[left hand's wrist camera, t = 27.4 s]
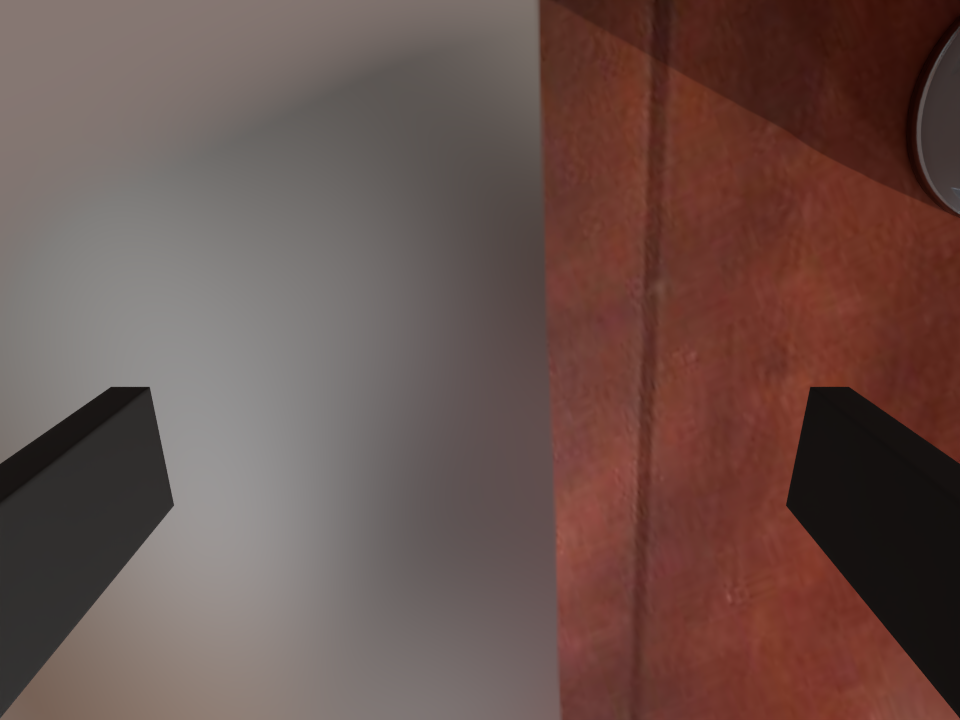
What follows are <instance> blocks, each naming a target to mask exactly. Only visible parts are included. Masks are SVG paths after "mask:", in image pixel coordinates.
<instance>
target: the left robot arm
mask: <svg viewBox="0 0 960 720" xmlns="http://www.w3.org/2000/svg"><path fill="white" fill-rule="evenodd" d="M907 146H908V153H909V158H910V162H911V165H912V169H913V172H914V174H915V176H916V178H917V180H918V182H919V184H920V185H921V187H922V189H923V190H924V191H925V193H926V194H927V195H928V196H929V197H930V198H931V199H932V200H933V201H934V202H935V203H936V204H937V205H938V206H939V207H941V208H942V209H943V210H945V211H947V212H948V213H950V214H952V215H954V216H956V217H959V218H960V16H959V17H958V18H957V19H956V21H955V22H954V23H953V24H952V25H951V26H950V27H949V28H948V30H947V31H946V32H945V33H944V35H943V36H942V37H941V38H940V40H939V41H938V43H937V44H936V46H935V47H934V49H933V50H932V52H931V54H930V55H929V57H928V59H927V61H926V63H925V64H924V67H923V69H922V71H921V73H920V75H919V77H918V80H917V83H916V85H915V88H914V91H913V95H912V98H911V102H910V107H909V112H908V120H907ZM173 506H174V503H173V498H172V494H171V489H170V484H169V479H168V474H167V469H166V464H165V460H164V455H163V450H162V445H161V440H160V435H159V430H158V425H157V420H156V416H155V411H154V406H153V401H152V396H151V391H150V387H110V388H109V389H108V390H106V391H105V392H103V393H102V394H100V395H99V396H97V397H96V398H95V399H93V400H92V401H90V402H89V403H87V404H86V405H84V406H83V407H82V408H80V409H79V410H77V411H76V412H74V413H73V414H71V415H70V416H69V417H67V418H66V419H64V420H63V421H61V422H60V423H59V424H57V425H56V426H54V427H53V428H51V429H50V430H49V431H47V432H46V433H44V434H43V435H41V436H40V437H38V438H37V439H36V440H34V441H33V442H31V443H30V444H28V445H27V446H25V447H24V448H23V449H21V450H20V451H18V452H17V453H15V454H14V455H13V456H11V457H10V458H8V459H7V460H5V461H4V462H2V463H1V464H0V718H1V717H2V715H3V714H4V713H5V712H6V710H7V709H8V708H9V707H10V705H11V704H12V703H13V702H14V701H15V699H16V698H17V697H18V696H19V695H20V693H21V692H22V691H23V690H24V688H25V687H26V686H27V685H28V684H29V682H30V681H31V680H32V679H33V677H34V676H35V675H36V674H37V672H38V671H39V670H40V669H41V668H42V666H43V665H44V664H45V663H46V661H47V660H48V659H49V658H50V657H51V655H52V654H53V653H54V652H55V650H56V649H57V648H58V647H59V645H60V644H61V643H62V642H63V641H64V639H65V638H66V637H67V636H68V635H69V633H70V632H71V631H72V630H73V628H74V627H75V626H76V625H77V624H78V622H79V621H80V620H81V619H82V617H83V616H84V615H85V614H86V612H87V611H88V610H89V609H90V608H91V606H92V605H93V604H94V603H95V601H96V600H97V599H98V598H99V596H100V595H101V594H102V593H103V592H104V590H105V589H106V588H107V587H108V585H109V584H110V583H111V582H112V581H113V579H114V578H115V577H116V576H117V574H118V573H119V572H120V571H121V570H122V568H123V567H124V566H125V565H126V564H127V562H128V561H129V560H130V559H131V557H132V556H133V555H134V554H135V552H136V551H137V550H138V549H139V548H140V546H141V545H142V544H143V543H144V541H145V540H146V539H147V538H148V537H149V535H150V534H151V533H152V532H153V530H154V529H155V528H156V527H157V526H158V524H159V523H160V522H161V521H162V519H163V518H164V517H165V516H166V515H167V513H168V512H169V511H170V510H171V508H172V507H173ZM786 506H787V507H788V508H789V510H790V511H791V512H792V513H793V515H794V516H795V517H796V518H797V519H798V521H799V522H800V523H801V524H802V526H803V527H804V528H805V529H806V530H807V532H808V533H809V534H810V535H811V537H812V538H813V539H814V540H815V541H816V543H817V544H818V545H819V546H820V548H821V549H822V550H823V551H824V552H825V554H826V555H827V556H828V557H829V559H830V560H831V561H832V562H833V564H834V565H835V566H836V567H837V568H838V570H839V571H840V572H841V573H842V575H843V576H844V577H845V578H846V579H847V581H848V582H849V583H850V584H851V586H852V587H853V588H854V589H855V590H856V592H857V593H858V594H859V595H860V597H861V598H862V599H863V600H864V601H865V603H866V604H867V605H868V606H869V608H870V609H871V610H872V611H873V612H874V614H875V615H876V616H877V617H878V619H879V620H880V621H881V622H882V624H883V625H884V626H885V627H886V628H887V630H888V631H889V632H890V633H891V635H892V636H893V637H894V638H895V639H896V641H897V642H898V643H899V644H900V646H901V647H902V648H903V649H904V650H905V652H906V653H907V654H908V655H909V657H910V658H911V659H912V660H913V661H914V663H915V664H916V665H917V666H918V668H919V669H920V670H921V671H922V672H923V674H924V675H925V676H926V677H927V679H928V680H929V681H930V682H931V684H932V685H933V686H934V687H935V688H936V690H937V691H938V692H939V693H940V695H941V696H942V697H943V698H944V699H945V701H946V702H947V703H948V704H949V706H950V707H951V708H952V709H953V710H954V712H955V713H956V714H957V715H958V717H959V718H960V464H959V463H958V462H956V461H955V460H953V459H952V458H950V457H949V456H948V455H946V454H945V453H943V452H942V451H940V450H939V449H937V448H936V447H935V446H933V445H932V444H930V443H929V442H927V441H926V440H924V439H923V438H922V437H920V436H919V435H917V434H916V433H914V432H913V431H912V430H910V429H909V428H907V427H906V426H904V425H903V424H901V423H900V422H899V421H897V420H896V419H894V418H893V417H891V416H890V415H889V414H887V413H886V412H884V411H883V410H881V409H880V408H878V407H877V406H876V405H874V404H873V403H871V402H870V401H868V400H867V399H865V398H864V397H863V396H861V395H860V394H858V393H857V392H855V391H854V390H853V389H851V388H850V387H810V391H809V396H808V401H807V406H806V411H805V416H804V420H803V425H802V430H801V435H800V440H799V445H798V450H797V455H796V459H795V464H794V469H793V474H792V479H791V484H790V489H789V494H788V498H787V503H786Z"/></svg>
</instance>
